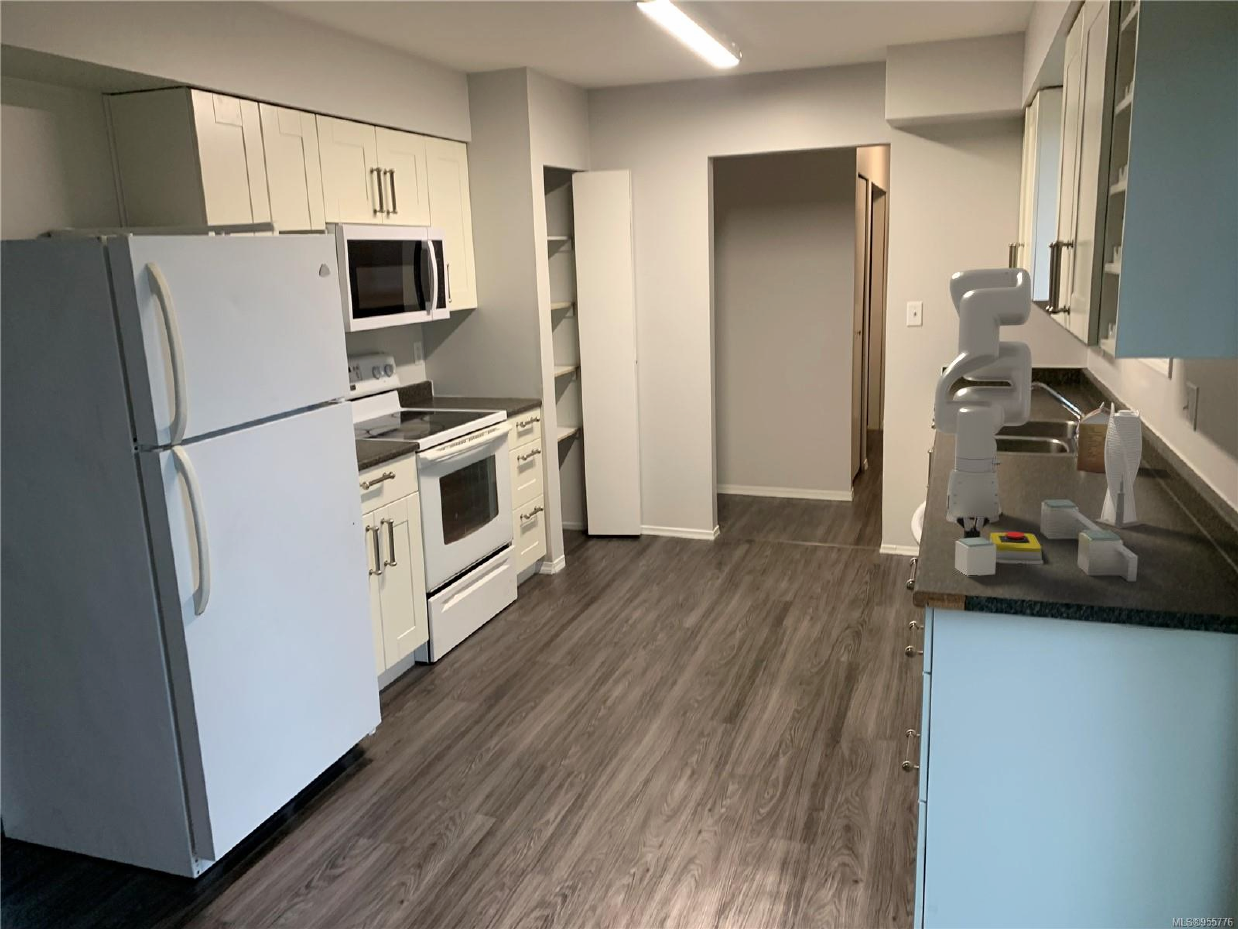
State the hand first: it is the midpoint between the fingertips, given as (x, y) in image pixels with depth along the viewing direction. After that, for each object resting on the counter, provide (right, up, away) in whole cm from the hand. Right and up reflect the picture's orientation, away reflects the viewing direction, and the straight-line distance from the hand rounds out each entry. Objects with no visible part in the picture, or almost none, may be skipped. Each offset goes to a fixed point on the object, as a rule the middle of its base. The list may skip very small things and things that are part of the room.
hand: (971, 547), depth 196 cm
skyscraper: (+41, +4, +17) cm, 44 cm away
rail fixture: (+22, -1, -3) cm, 22 cm away
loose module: (-4, -4, -12) cm, 13 cm away
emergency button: (+9, -2, -2) cm, 9 cm away
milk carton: (+65, +17, +71) cm, 98 cm away
